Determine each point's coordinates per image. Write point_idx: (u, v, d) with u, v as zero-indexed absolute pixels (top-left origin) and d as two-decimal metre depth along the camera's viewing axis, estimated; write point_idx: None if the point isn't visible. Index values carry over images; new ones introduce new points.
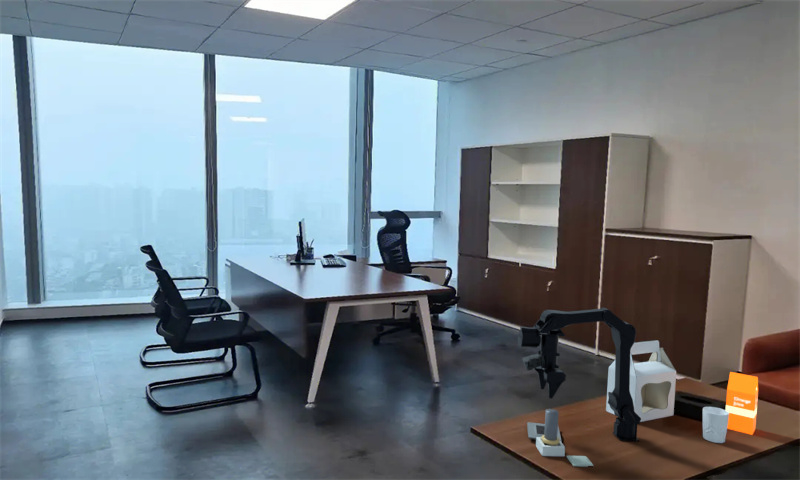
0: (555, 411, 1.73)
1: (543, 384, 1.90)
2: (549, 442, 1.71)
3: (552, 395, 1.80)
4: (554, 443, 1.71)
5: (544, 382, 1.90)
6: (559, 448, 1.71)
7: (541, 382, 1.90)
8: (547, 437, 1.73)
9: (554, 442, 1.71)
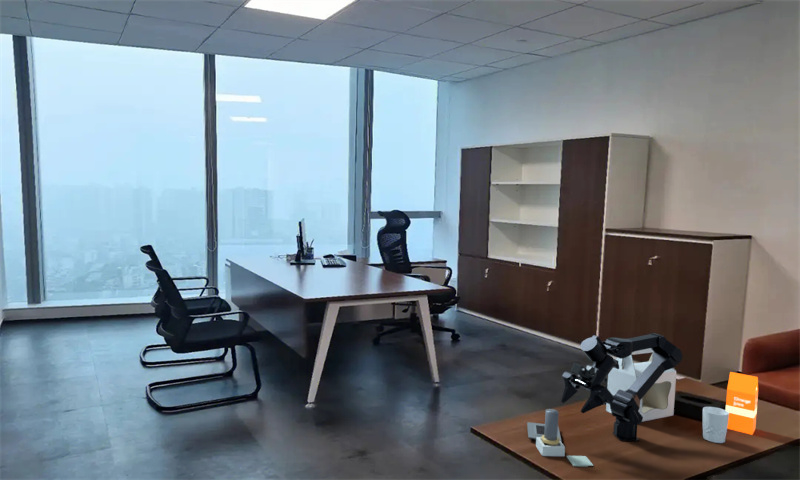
0: (555, 411, 1.73)
1: (565, 399, 1.81)
2: (549, 442, 1.71)
3: (585, 410, 1.73)
4: (554, 443, 1.71)
5: (567, 398, 1.82)
6: (559, 448, 1.71)
7: (565, 396, 1.81)
8: (547, 437, 1.73)
9: (554, 442, 1.71)
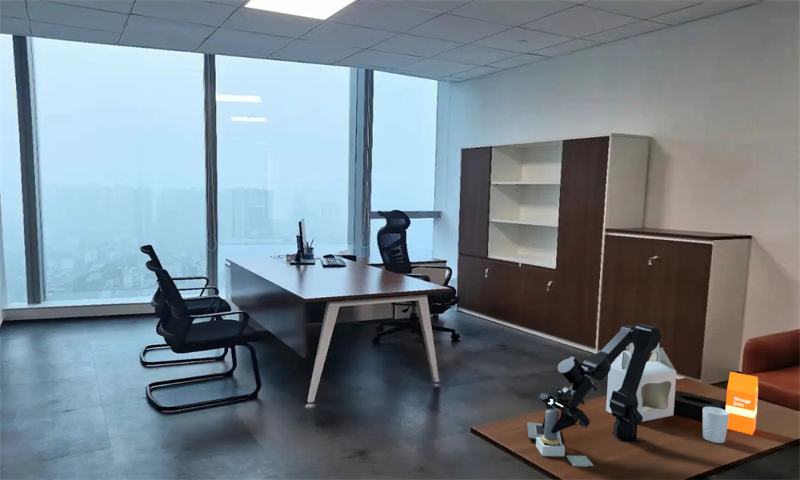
0: (555, 411, 1.73)
1: None
2: (549, 442, 1.71)
3: (556, 431, 1.71)
4: (554, 443, 1.71)
5: None
6: (559, 448, 1.71)
7: None
8: (547, 437, 1.73)
9: (554, 442, 1.71)
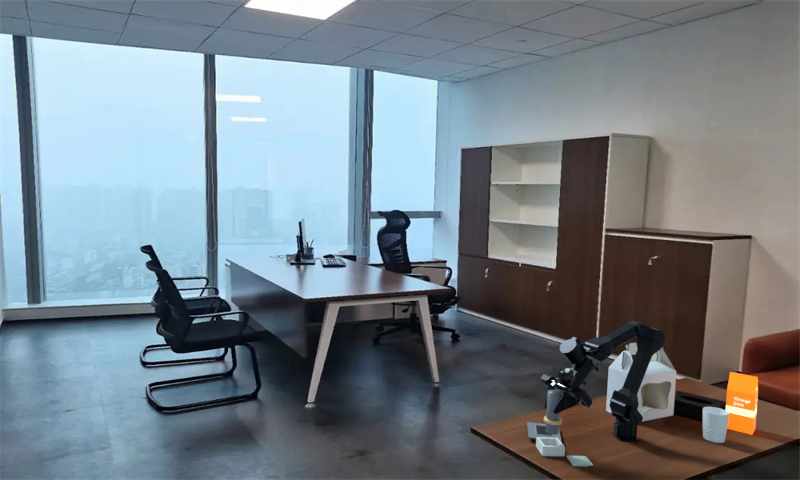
0: (557, 391, 1.73)
1: None
2: (551, 422, 1.71)
3: (558, 411, 1.71)
4: (556, 423, 1.71)
5: None
6: (559, 448, 1.71)
7: None
8: (549, 418, 1.72)
9: (556, 422, 1.71)
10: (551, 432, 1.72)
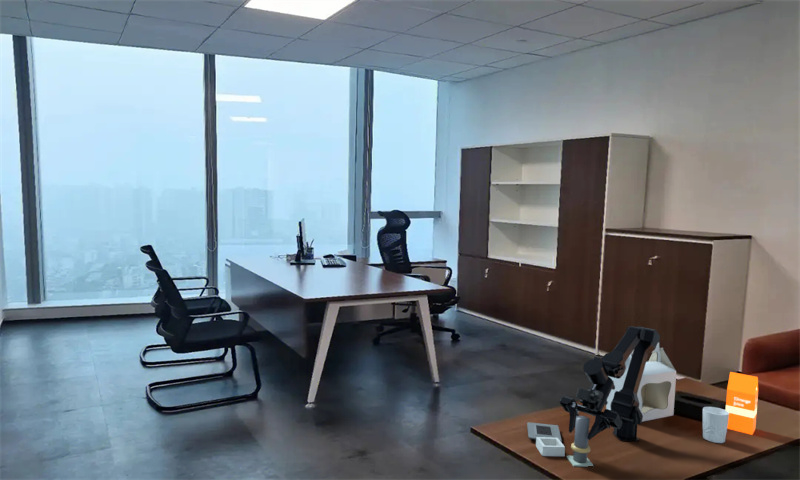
0: (586, 417, 1.67)
1: (572, 428, 1.69)
2: (583, 451, 1.65)
3: (591, 436, 1.64)
4: (587, 451, 1.65)
5: (573, 426, 1.70)
6: (559, 448, 1.71)
7: (572, 425, 1.69)
8: (579, 445, 1.66)
9: (587, 450, 1.65)
10: (581, 460, 1.66)
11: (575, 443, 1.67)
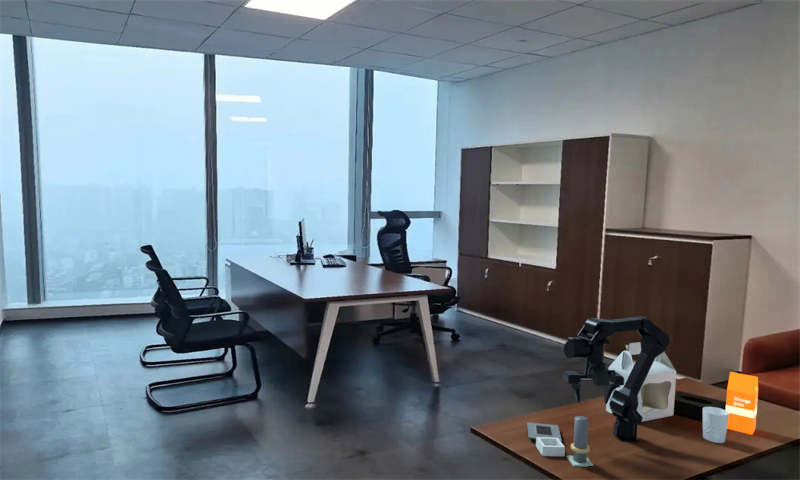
0: (584, 418, 1.67)
1: None
2: (582, 451, 1.65)
3: None
4: (587, 451, 1.65)
5: None
6: (559, 448, 1.71)
7: None
8: (579, 446, 1.65)
9: (587, 450, 1.65)
10: (581, 461, 1.66)
11: (575, 444, 1.67)
